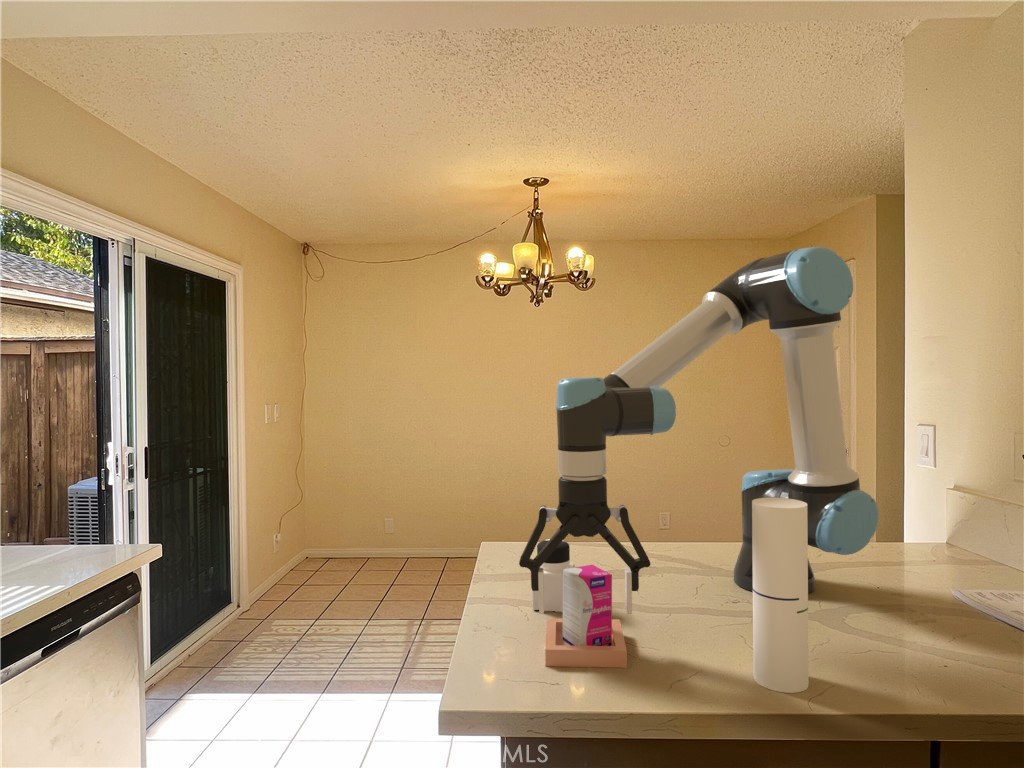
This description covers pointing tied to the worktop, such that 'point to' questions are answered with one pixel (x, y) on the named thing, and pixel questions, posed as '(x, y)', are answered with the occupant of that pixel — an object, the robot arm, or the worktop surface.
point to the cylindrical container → (780, 594)
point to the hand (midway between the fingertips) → (585, 611)
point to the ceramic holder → (584, 649)
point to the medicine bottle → (553, 577)
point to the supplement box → (587, 606)
